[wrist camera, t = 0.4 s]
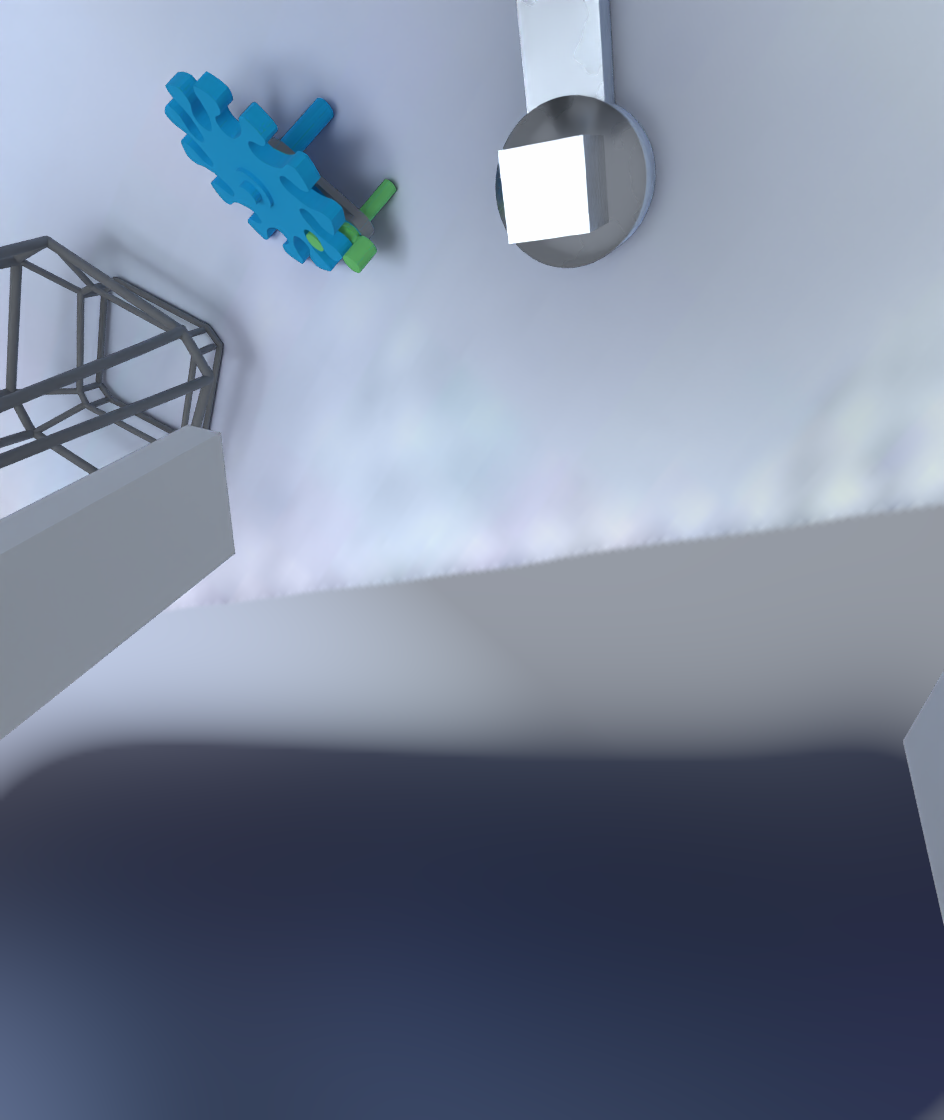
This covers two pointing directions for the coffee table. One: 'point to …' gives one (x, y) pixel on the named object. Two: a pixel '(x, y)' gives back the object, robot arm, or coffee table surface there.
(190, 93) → the gear
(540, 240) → the ratchet
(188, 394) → the geometric lantern
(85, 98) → the coffee table surface
